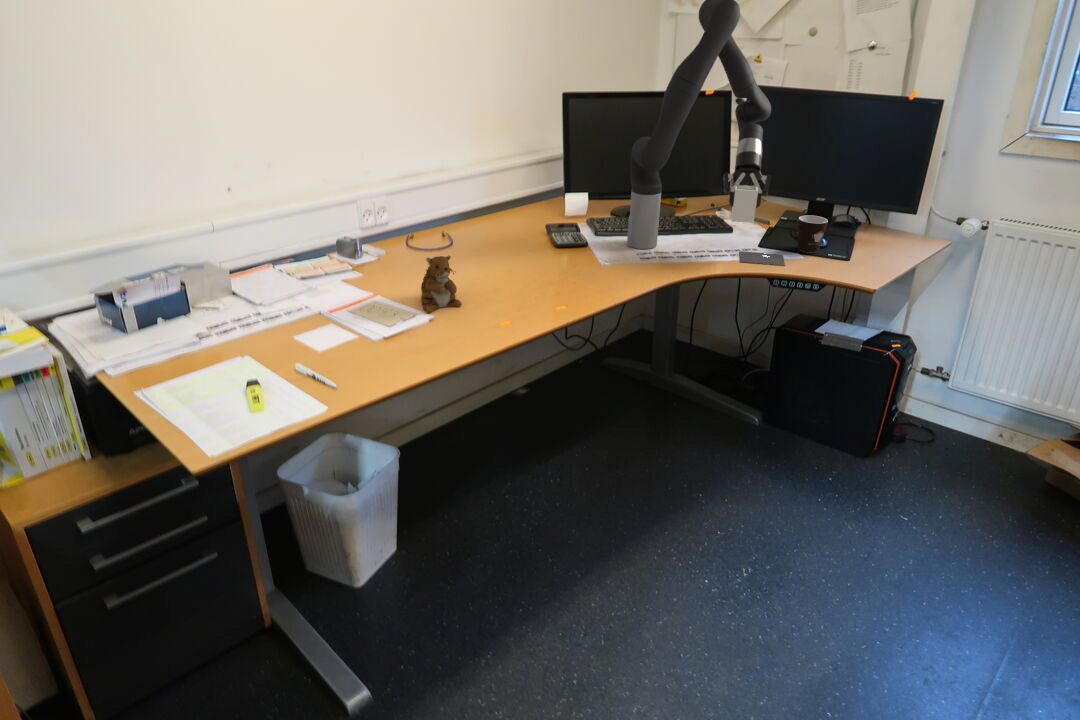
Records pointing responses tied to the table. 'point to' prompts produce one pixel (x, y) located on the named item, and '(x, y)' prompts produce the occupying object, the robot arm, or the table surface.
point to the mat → (761, 258)
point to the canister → (744, 204)
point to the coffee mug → (810, 232)
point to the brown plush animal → (438, 285)
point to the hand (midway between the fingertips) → (744, 206)
